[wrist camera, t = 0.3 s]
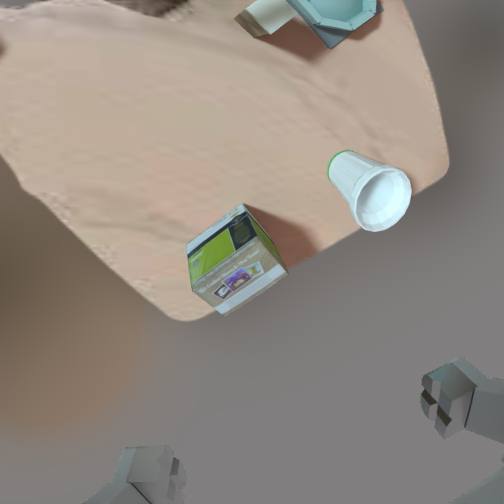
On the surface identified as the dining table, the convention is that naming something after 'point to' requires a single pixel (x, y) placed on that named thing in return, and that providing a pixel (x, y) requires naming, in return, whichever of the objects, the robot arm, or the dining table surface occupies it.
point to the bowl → (337, 12)
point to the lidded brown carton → (265, 16)
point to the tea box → (233, 262)
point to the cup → (370, 189)
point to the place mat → (330, 34)
